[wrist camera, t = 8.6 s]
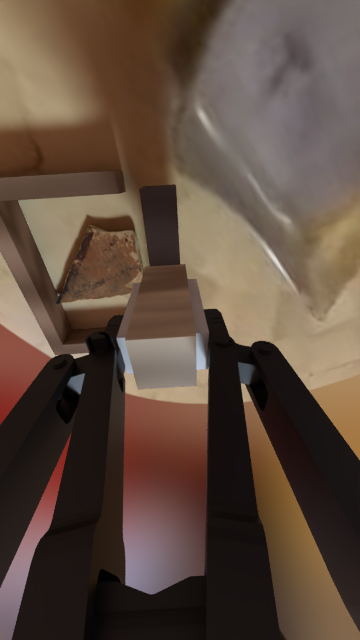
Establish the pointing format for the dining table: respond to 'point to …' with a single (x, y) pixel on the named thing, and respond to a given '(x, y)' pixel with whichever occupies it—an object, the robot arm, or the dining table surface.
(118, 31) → the dining table surface
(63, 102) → the dining table surface
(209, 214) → the dining table surface
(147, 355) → the scraper
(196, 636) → the robot arm
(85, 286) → the shard
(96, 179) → the walnut bay
